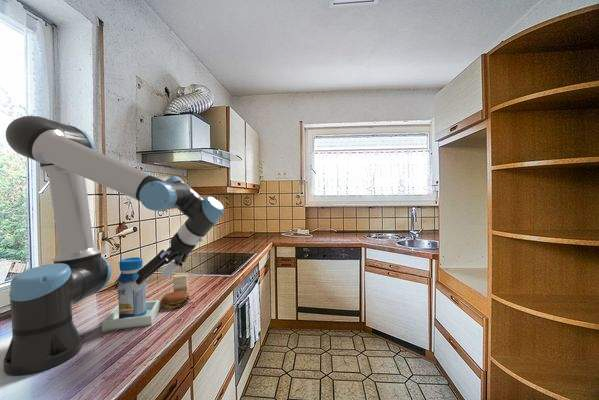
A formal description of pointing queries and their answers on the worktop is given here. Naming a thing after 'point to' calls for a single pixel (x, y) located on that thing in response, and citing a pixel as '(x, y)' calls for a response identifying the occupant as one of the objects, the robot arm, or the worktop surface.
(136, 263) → the blue supplement bottle
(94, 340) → the worktop surface
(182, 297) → the burger
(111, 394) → the worktop surface
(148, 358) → the worktop surface
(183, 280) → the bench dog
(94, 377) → the worktop surface
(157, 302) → the tray
